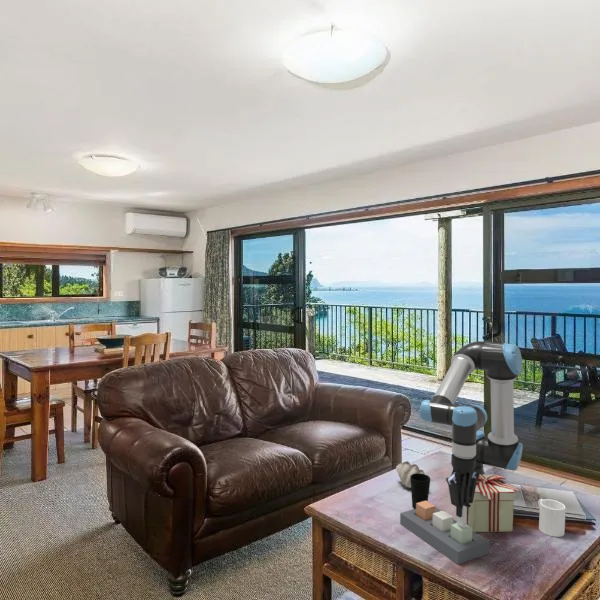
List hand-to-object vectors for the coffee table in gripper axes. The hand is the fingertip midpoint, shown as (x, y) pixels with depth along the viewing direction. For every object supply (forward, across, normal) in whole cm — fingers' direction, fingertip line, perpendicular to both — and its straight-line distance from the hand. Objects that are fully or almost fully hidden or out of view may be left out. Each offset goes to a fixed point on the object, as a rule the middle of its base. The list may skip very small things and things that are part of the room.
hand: (461, 525), depth 159 cm
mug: (+9, -39, +4) cm, 40 cm away
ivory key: (+5, 0, -9) cm, 10 cm away
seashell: (+9, -17, -44) cm, 49 cm away
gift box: (+9, -22, -8) cm, 25 cm away
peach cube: (+5, 0, -17) cm, 18 cm away
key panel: (+8, 0, -9) cm, 12 cm away
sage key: (+5, 0, 0) cm, 6 cm away
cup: (+9, -8, -29) cm, 31 cm away
